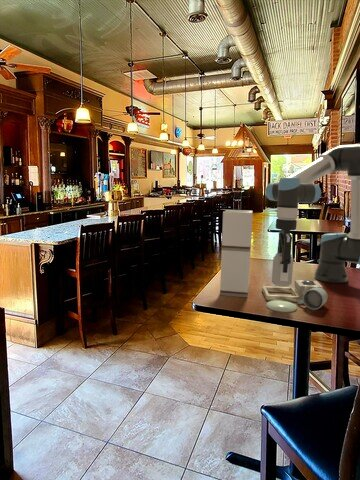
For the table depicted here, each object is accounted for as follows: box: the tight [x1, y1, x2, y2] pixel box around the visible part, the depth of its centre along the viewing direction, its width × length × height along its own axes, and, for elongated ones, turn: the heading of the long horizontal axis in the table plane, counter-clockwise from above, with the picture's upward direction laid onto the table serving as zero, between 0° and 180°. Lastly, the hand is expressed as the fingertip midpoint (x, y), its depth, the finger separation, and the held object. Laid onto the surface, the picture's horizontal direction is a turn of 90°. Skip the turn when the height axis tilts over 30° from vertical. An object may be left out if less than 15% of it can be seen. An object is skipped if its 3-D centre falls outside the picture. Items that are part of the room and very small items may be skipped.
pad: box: [266, 300, 297, 313], centre depth 140 cm, size 11×11×1 cm
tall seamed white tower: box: [219, 209, 254, 298], centre depth 154 cm, size 11×11×35 cm
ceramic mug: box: [296, 287, 328, 311], centre depth 141 cm, size 11×8×8 cm
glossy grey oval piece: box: [303, 279, 315, 285], centre depth 152 cm, size 4×4×5 cm
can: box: [271, 252, 294, 287], centre depth 140 cm, size 8×8×12 cm
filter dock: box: [261, 279, 324, 303], centre depth 152 cm, size 22×13×6 cm, turn 85°
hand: (281, 277), depth 141 cm, fingers closed on can, 7 cm apart
